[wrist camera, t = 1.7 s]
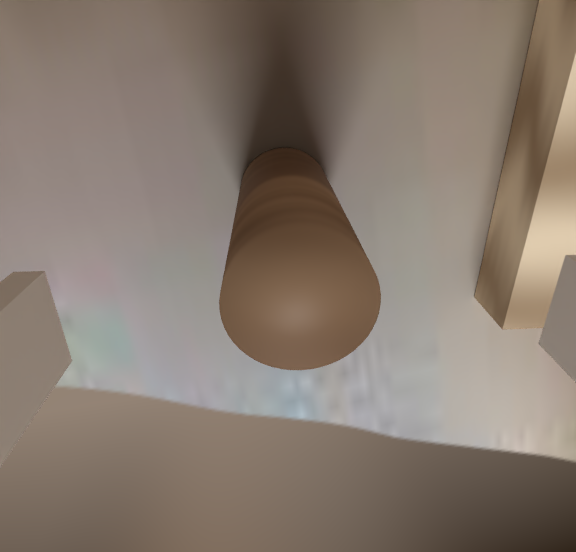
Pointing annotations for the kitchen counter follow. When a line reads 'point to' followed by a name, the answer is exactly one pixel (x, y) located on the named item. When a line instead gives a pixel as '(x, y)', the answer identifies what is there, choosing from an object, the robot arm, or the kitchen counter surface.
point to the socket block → (536, 180)
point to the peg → (295, 268)
